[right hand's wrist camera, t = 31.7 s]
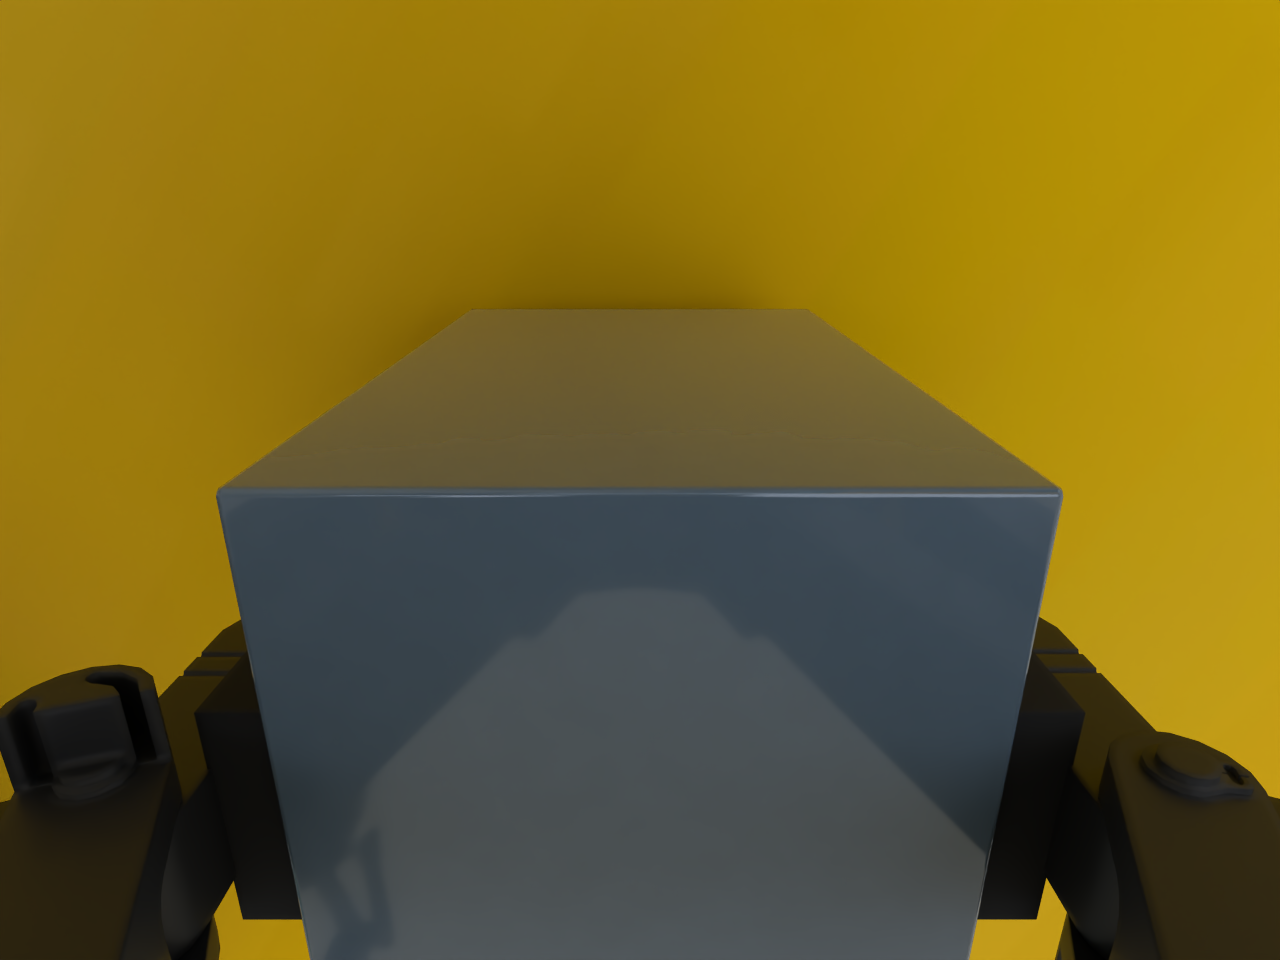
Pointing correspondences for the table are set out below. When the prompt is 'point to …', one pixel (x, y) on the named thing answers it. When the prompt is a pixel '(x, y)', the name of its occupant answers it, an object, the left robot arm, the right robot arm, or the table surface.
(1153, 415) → the table surface
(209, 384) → the table surface
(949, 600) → the block
